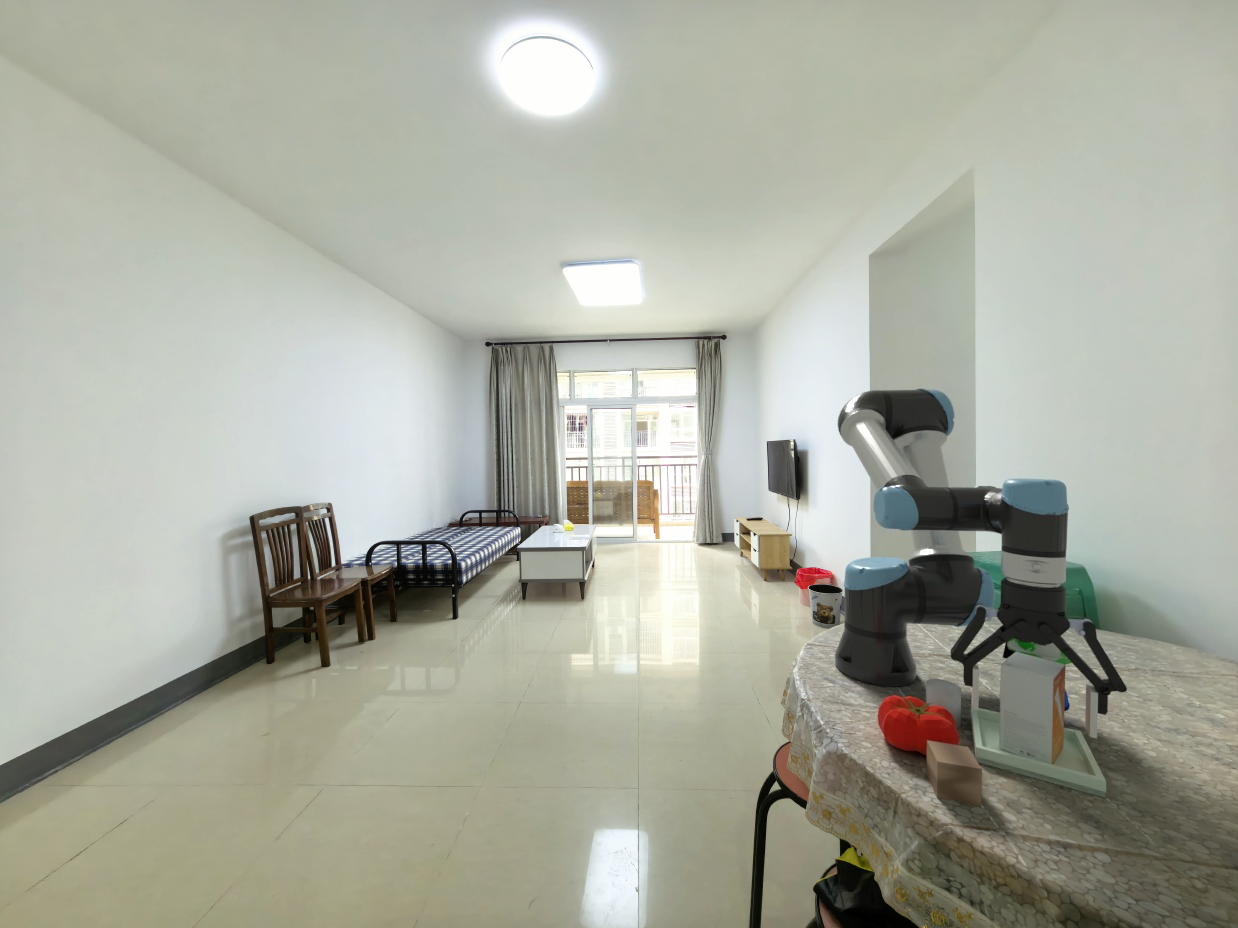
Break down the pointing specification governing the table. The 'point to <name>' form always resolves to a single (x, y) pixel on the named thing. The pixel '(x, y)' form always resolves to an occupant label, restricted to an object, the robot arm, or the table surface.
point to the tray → (1068, 769)
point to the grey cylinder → (945, 697)
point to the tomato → (915, 723)
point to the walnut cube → (954, 773)
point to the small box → (1032, 707)
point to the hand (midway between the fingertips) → (1030, 719)
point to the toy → (1037, 655)
